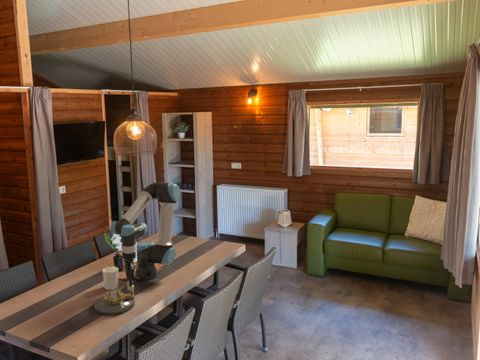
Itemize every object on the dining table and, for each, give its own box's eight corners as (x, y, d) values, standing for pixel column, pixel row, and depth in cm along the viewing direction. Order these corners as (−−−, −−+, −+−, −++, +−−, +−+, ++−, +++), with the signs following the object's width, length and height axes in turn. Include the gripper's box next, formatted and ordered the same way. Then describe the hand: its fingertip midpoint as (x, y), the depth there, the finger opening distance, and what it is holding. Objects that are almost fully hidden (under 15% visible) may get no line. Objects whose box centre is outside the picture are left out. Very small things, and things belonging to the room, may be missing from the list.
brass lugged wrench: (105, 306, 228) (105, 294, 227) (103, 298, 238) (102, 287, 237) (136, 300, 235) (135, 289, 234) (132, 293, 245) (131, 282, 244)
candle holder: (102, 291, 255) (101, 273, 253) (103, 285, 265) (102, 267, 263) (119, 289, 258) (118, 271, 256) (119, 283, 267) (118, 265, 265)
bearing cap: (112, 295, 250) (111, 284, 249) (142, 301, 242) (141, 290, 241) (86, 311, 230) (85, 299, 229) (117, 318, 222) (117, 306, 221)
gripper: (119, 249, 240) (120, 287, 244) (125, 256, 229) (127, 295, 233) (131, 247, 244) (133, 284, 248) (138, 253, 233) (140, 292, 237)
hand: (130, 289), depth 240 cm, fingers closed
